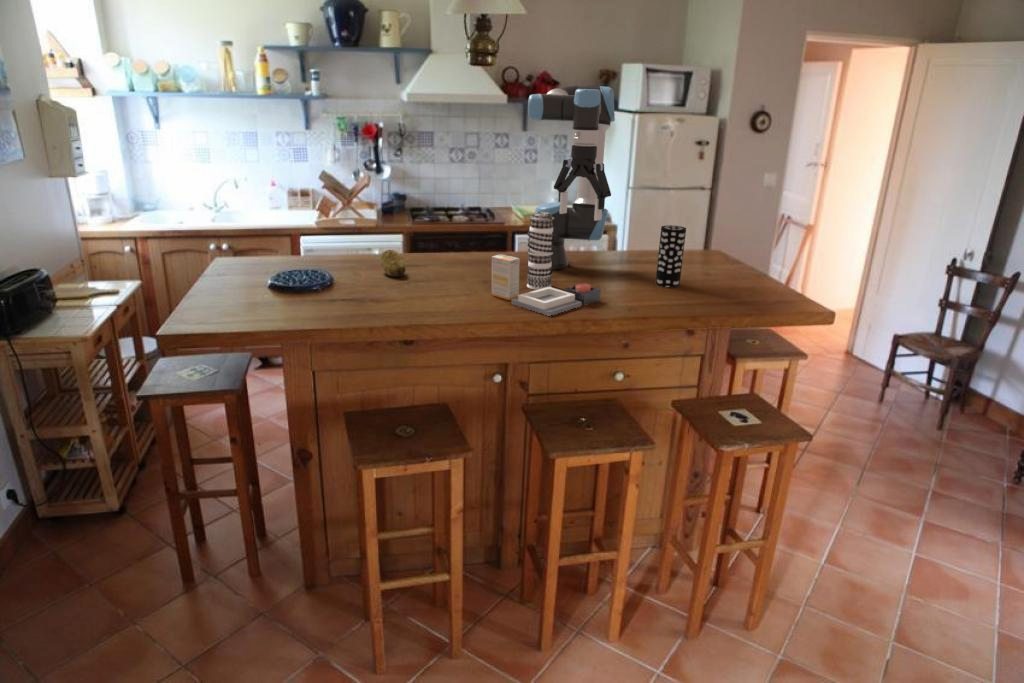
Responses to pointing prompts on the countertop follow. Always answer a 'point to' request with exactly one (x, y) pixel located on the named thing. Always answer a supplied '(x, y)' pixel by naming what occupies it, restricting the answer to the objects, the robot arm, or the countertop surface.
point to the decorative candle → (540, 250)
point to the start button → (583, 287)
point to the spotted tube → (670, 256)
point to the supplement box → (505, 276)
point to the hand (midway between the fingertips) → (580, 216)
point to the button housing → (585, 295)
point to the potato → (392, 263)
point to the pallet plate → (547, 301)
